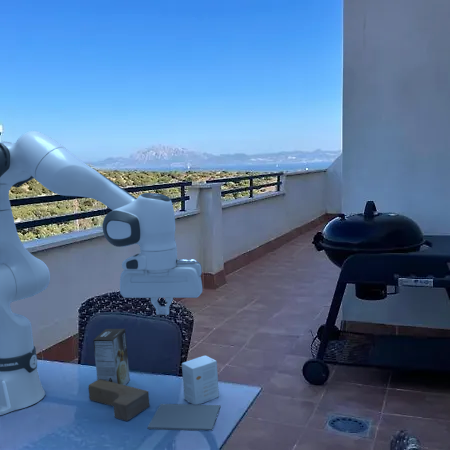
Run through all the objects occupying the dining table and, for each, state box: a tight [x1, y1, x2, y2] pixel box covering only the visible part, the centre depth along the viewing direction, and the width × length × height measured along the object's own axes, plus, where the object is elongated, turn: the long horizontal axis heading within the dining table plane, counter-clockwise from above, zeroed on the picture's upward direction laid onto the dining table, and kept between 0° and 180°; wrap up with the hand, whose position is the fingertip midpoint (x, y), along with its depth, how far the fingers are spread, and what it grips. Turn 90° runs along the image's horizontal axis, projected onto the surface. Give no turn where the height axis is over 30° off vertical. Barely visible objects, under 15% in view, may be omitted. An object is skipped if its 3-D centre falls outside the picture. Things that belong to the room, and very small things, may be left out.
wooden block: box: [88, 379, 150, 422], centre depth 144 cm, size 9×4×18 cm
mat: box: [147, 403, 221, 431], centre depth 136 cm, size 16×12×1 cm
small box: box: [181, 354, 220, 405], centre depth 145 cm, size 8×6×10 cm
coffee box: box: [92, 328, 131, 386], centre depth 155 cm, size 9×6×16 cm
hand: (162, 314), depth 133 cm, fingers closed
